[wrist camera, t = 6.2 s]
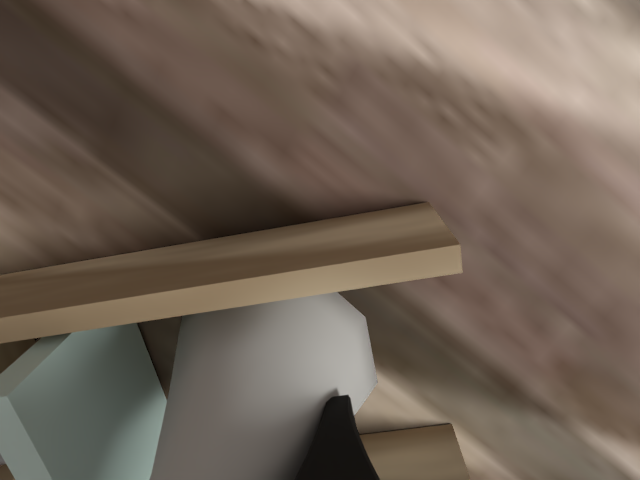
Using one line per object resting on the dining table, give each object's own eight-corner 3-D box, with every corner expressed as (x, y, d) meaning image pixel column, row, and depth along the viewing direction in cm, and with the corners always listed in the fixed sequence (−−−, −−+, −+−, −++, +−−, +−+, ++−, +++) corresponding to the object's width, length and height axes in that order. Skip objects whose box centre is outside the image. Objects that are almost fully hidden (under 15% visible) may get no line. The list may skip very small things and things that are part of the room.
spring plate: (187, 454, 19) (125, 613, 13) (61, 469, 19) (-50, 627, 14) (121, 284, 16) (6, 396, 10) (-24, 308, 17) (-208, 425, 11)
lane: (453, 438, 18) (493, 561, 14) (82, 482, 20) (6, 605, 15) (428, 202, 15) (471, 260, 10) (-22, 278, 16) (-164, 359, 12)
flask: (155, 300, 17) (-145, 605, 8) (314, 225, 14) (145, 552, 5) (255, 432, 19) (112, 795, 10) (411, 388, 16) (412, 827, 7)
